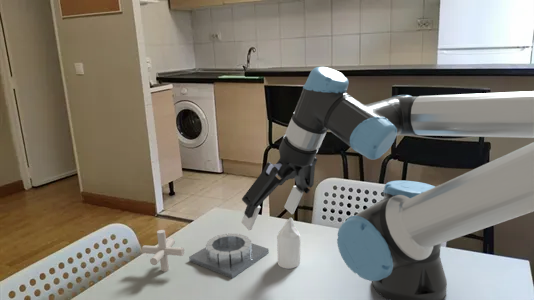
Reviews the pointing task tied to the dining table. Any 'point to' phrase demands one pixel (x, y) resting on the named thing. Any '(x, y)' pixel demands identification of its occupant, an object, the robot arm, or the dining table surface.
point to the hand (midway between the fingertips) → (268, 217)
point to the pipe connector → (162, 250)
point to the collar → (229, 254)
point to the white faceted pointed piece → (288, 246)
